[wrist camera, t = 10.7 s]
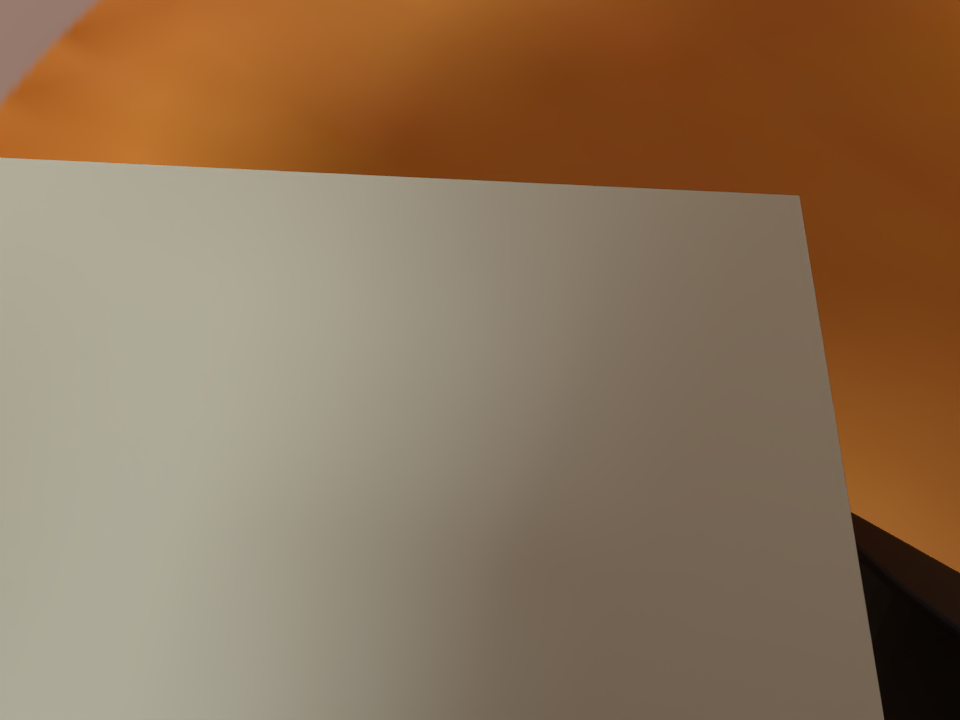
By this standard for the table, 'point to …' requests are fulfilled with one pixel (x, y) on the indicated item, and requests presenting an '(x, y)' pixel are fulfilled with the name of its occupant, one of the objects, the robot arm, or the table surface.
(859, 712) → the sage pillar
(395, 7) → the table surface
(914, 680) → the robot arm
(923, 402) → the table surface
